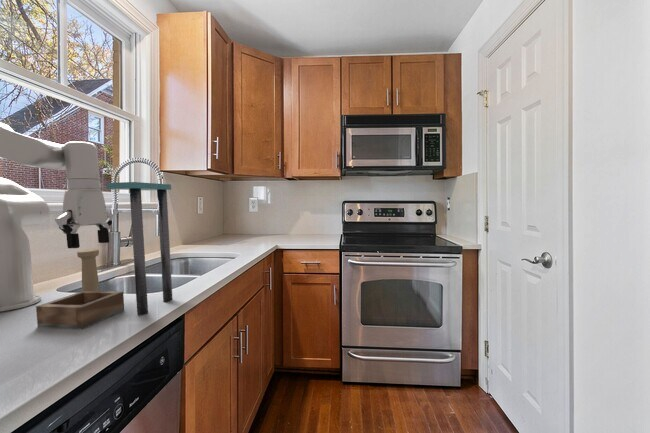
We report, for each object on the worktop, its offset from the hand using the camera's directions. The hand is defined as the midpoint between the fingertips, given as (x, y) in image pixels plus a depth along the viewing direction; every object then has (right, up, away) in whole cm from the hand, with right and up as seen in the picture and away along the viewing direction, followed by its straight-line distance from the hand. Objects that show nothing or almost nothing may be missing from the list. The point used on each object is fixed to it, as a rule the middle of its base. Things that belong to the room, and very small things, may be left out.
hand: (89, 245), depth 89 cm
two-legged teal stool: (+20, -16, -5) cm, 26 cm away
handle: (0, -17, +1) cm, 17 cm away
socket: (+8, -17, -12) cm, 23 cm away
